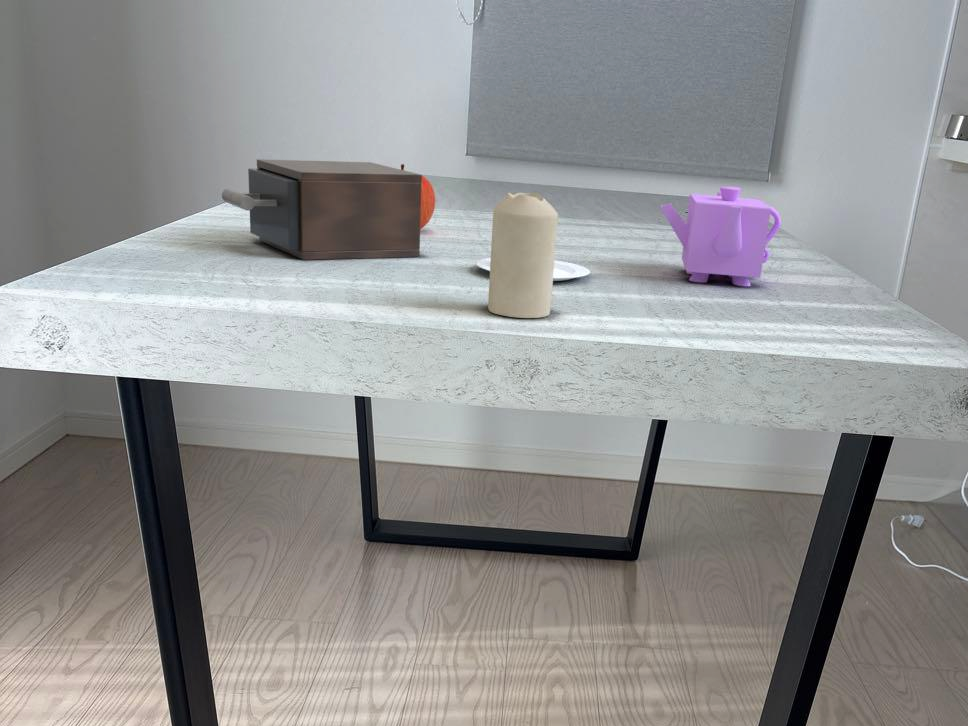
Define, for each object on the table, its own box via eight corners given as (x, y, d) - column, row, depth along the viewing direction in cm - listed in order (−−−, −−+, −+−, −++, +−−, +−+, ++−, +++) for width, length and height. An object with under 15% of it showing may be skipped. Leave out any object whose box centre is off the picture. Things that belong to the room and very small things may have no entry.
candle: (545, 321, 90) (554, 199, 86) (482, 314, 91) (488, 193, 87) (554, 309, 95) (563, 193, 91) (494, 303, 96) (501, 187, 92)
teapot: (650, 260, 126) (660, 174, 122) (760, 270, 125) (774, 184, 122) (655, 287, 109) (667, 188, 105) (782, 298, 109) (799, 200, 105)
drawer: (252, 251, 106) (249, 180, 103) (215, 233, 115) (212, 167, 112) (398, 247, 115) (399, 182, 112) (354, 231, 123) (354, 170, 121)
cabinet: (302, 259, 109) (301, 172, 105) (259, 240, 118) (256, 159, 115) (419, 256, 116) (422, 174, 113) (370, 238, 125) (370, 162, 122)
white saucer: (467, 262, 115) (469, 221, 113) (573, 266, 118) (577, 226, 116) (486, 283, 105) (488, 238, 103) (602, 287, 107) (606, 243, 106)
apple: (431, 237, 130) (433, 169, 127) (366, 232, 130) (366, 163, 127) (437, 228, 137) (439, 164, 134) (374, 224, 137) (375, 159, 134)
